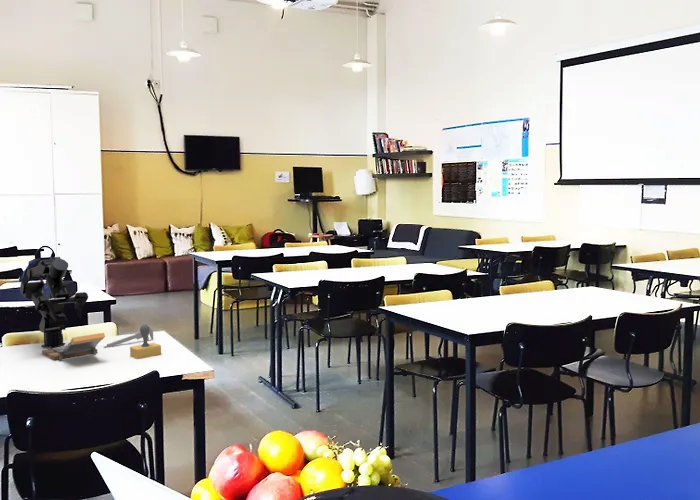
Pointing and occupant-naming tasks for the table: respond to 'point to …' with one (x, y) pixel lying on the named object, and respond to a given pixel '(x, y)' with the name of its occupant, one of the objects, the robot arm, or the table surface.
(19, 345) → the table surface
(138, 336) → the caliper
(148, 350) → the rubber stamp
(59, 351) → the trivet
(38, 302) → the robot arm
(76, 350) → the gray slab
